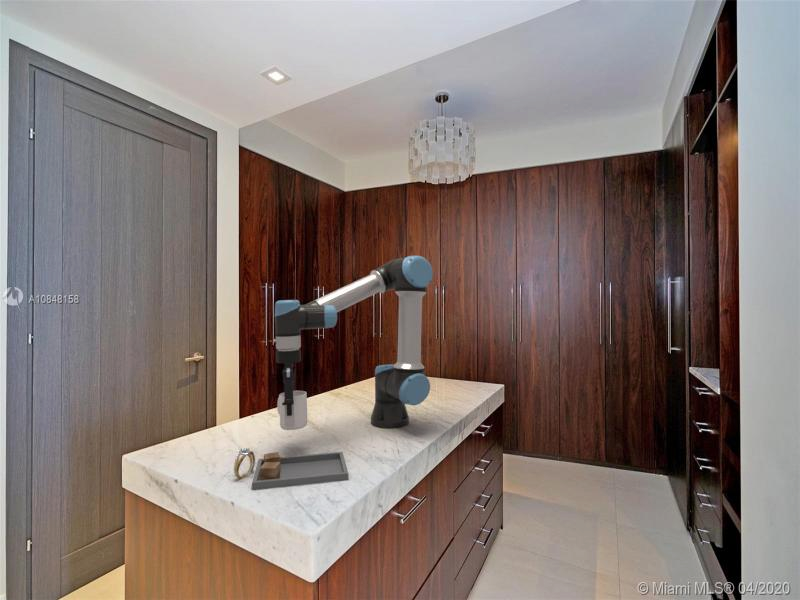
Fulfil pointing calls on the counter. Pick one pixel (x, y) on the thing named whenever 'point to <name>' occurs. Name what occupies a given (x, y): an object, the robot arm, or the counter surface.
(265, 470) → the block
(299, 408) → the cup
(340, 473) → the tray
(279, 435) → the counter surface
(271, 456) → the block
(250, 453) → the ring
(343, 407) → the counter surface
